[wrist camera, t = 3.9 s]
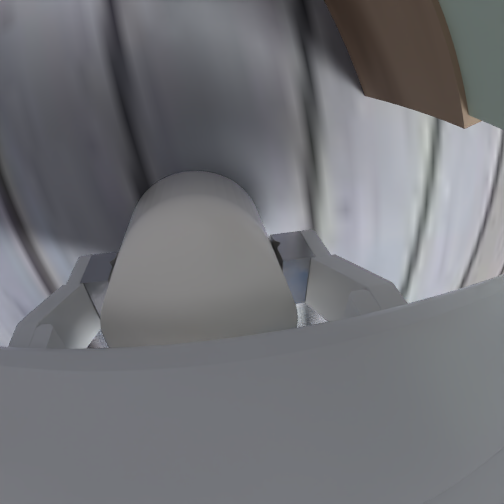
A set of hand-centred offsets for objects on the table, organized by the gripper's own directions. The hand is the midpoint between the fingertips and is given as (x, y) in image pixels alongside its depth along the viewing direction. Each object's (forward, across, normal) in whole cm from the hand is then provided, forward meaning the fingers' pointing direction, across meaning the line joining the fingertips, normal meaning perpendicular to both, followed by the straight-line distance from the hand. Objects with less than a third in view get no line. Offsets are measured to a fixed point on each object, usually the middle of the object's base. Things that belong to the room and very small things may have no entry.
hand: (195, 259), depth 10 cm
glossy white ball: (+2, 0, 0) cm, 2 cm away
